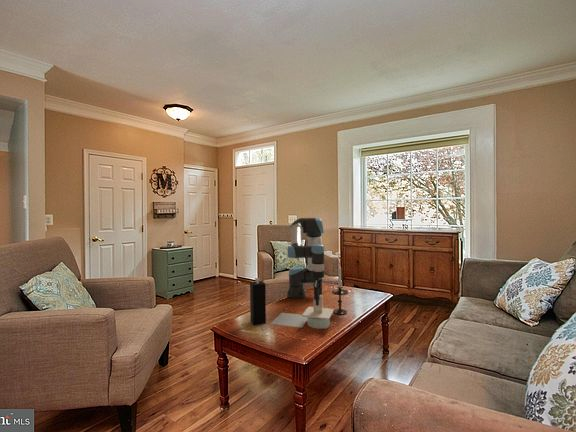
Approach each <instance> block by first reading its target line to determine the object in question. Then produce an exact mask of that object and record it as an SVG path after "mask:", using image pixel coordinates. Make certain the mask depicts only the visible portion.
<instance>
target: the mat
mask: <svg viewBox="0 0 576 432" xmlns="http://www.w3.org/2000/svg"><path fill="white" fill-rule="evenodd" d="M306 322H307V317H302V314H299V313H298V314H297V313H288V312H280V313H279V315H277V317H275V318H274V319H273V320H272V321H271V323H269V324H271V325H278V326H285V327H294V328H303V327H304V325H305V324H307V323H306Z"/></svg>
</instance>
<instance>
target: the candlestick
mask: <svg viewBox="0 0 576 432" xmlns="http://www.w3.org/2000/svg"><path fill="white" fill-rule="evenodd" d="M337 272H338V273H337V274H338V277H337V278H338V279H337V280H338V282H337V283H338V286H336V289H332V290H331V293H332V294H331V295H336V296H338V300H337V302H338V305H337V306H338V308H336V309H334V311H333V313H332V314H335V315H337V316H344V315H346V314H348V311H347V310H346V309H344V308H342V303H343V300H342V296H347V295H348V294H349V290H347V289H345V288H344V287H343V286H342V267H341V261H339V262H338V268H337Z"/></svg>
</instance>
